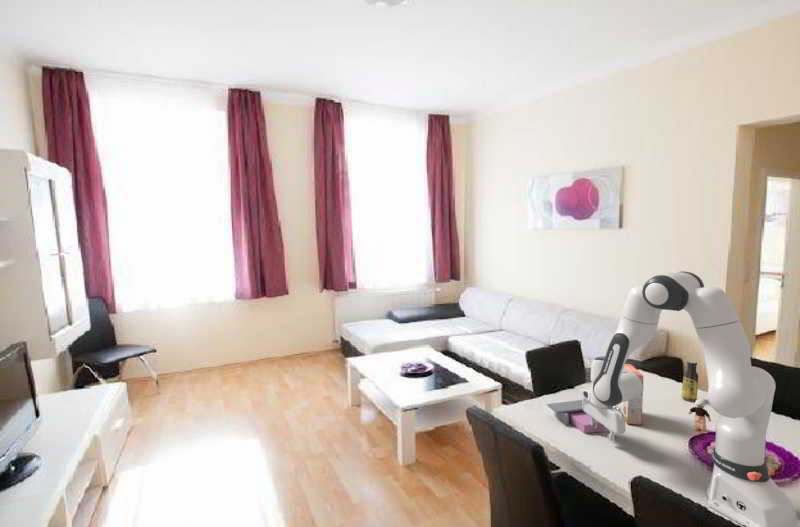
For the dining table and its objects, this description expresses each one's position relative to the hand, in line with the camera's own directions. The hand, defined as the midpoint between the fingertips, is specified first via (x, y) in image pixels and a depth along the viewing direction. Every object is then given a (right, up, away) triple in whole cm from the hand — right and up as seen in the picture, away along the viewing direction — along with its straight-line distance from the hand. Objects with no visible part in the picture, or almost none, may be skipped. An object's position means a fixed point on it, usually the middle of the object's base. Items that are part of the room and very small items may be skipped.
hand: (602, 433), depth 158 cm
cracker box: (+19, 0, +17) cm, 26 cm away
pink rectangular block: (-2, -1, +13) cm, 13 cm away
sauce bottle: (+55, +2, +32) cm, 64 cm away
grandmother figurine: (+40, -1, +5) cm, 40 cm away
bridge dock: (-3, -1, +17) cm, 17 cm away
